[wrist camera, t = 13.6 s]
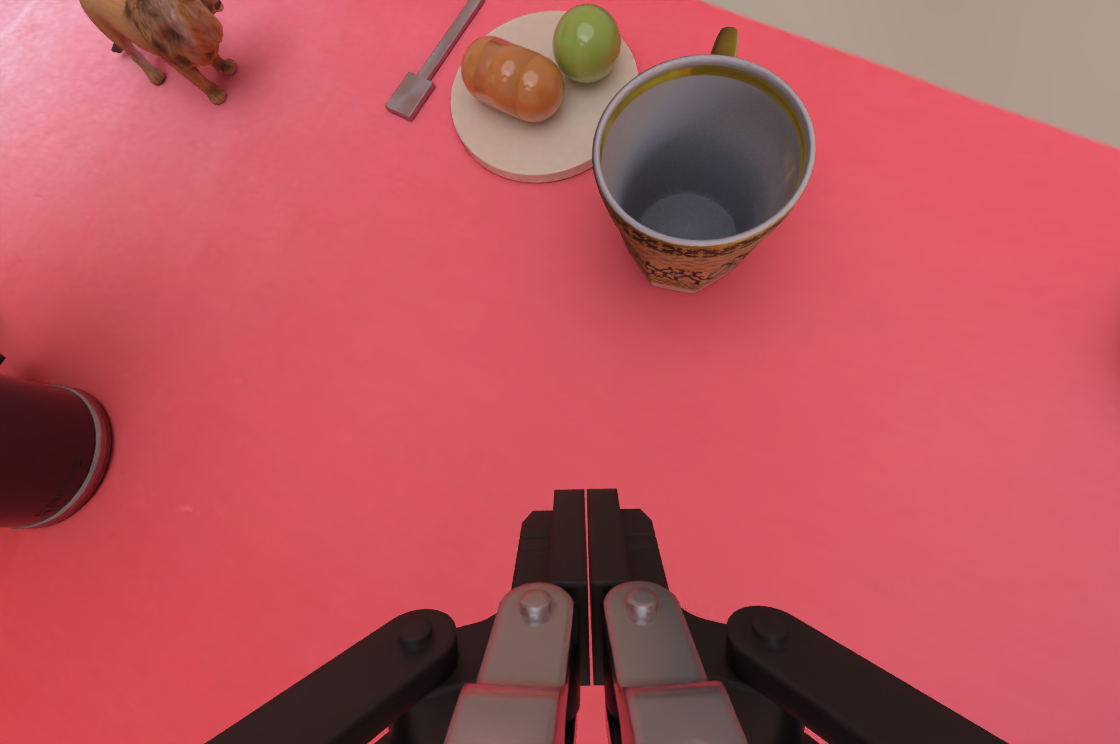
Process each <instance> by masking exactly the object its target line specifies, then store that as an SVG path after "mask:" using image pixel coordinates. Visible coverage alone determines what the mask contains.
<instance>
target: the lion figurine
mask: <svg viewBox="0 0 1120 744" xmlns="http://www.w3.org/2000/svg"><path fill="white" fill-rule="evenodd" d="M79 1H80V4H81V6H82V8H83V10H84V11H85V13H86V14H87V16H88V17H89V18H90V19H91V21H92V22H93V23H94V24H95V25H96V26H97V27H98V28H99V29H100V31H101V32H103V33H104V34H105V35H106V36H107V37H108V38H109V39H110V40H112V41H113V42H114V44H113V47H112V49H111V50H112V51H113V52H117V53H121V52H122V51H123V50H124V51H125V52H126V53H128V54H129V55H130V56H131V58H132V59H133V60H134V61H135V62H136V63H137V64H138V65H139V66H140V67H141V68H142V69H143V71H144V72H145V73H146V75H147V76H148V78H149V80H150V81H151V82H152V83H153V84H155V85H158V84H160V83H161V82H162V80H163V79H164V74H163V73H162V72H161V71H160V70H158V69H157V68H155V67H154V66H153V65H151V64H150V63H149V62H148V61H147V60H146V59H145V57H144V56H143V55H142V54H141V53H140V52H139V51H137V50H136V49H135V47H134V46H133V44H132V43H134V44H135V45H137V46H138V47H140V48H142V49H144V50H146V51H148V52H150V53H152V54H154V55H157V56H160V57H161V58H162V59H164V60H165V61H166V62H168V63H169V64H170V65H172V66H173V67H174V68H175V69H176V70H177V71H178V72H179V73H180V74H181V75H183V76H184V77H186V78H187V79H188V80H190V81H191V82H192V83H193V84H194V85H196V86H197V87H199V88H200V89H201V90H202V91H203V92H204V93H205V94H206V95H207V96H208V97H209V99H210V100H211V102H212V103H214V104H221V103H222V102H224V100H225V98H226V93H225V92H224V91H222V90H221V89H220V88H219V86H217V85H216V84H214V83H213V82H210V81H209V80H207V79H206V78H205V77H204V76H203V75H202V74H201V73H200V71H199V70H198V69H197V67H198V66H200V65H202V66H206V65H211V64H212V66H213V67H214V68H215V69H216V70H217V71H218V72H220V73H223V74H227V75H229V74H233V73H234V72H235V71H236V63H235V62H234V60H232V59H227V60H223V59H221V57H220V56H219V55H218V51H219V43H220V42H222V37H223V27H222V24H221V23H220V22H219V20H218V19H217V18H216V17H215V16H214V14H215V13H216V12H220V11H222V10H223V9H224V7H223V4H222V3H221V1H220V0H79Z"/></svg>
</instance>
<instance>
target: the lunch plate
mask: <svg viewBox="0 0 1120 744" xmlns="http://www.w3.org/2000/svg"><path fill="white" fill-rule="evenodd" d="M636 76H638V70H637V66H636V62H635V59H634V57H633V55H632V53H631V51H630V49H629V48H628V46H627V44H626V43H625V41H624V40H623V39H622V38H621V35H620V31H619V27H618V25H617V23H616V21H615V19H614V18H613V17H612V15H611V14H610V13H609V12H608V11H606V10H605V9H604V8H602V7H600V6H597V5H594V4H581V5H577V6H575V7H573V8H571V9H570V10H568V11H542V12H536V13H531V14H527V15H524V16H520V17H518V18H515V19H512V20H510V21H508V22H506V23H504V24H502V25H500V26H498V27H497V28H495V29H494V30H492V31H491V32H489V33H488V34H487V35H486V36H484V37H481V38H478V39H476V40H475V41H473V42H472V43H471V44H470V45H469V46H468V48H467V49H466V51H465V52H464V55H463V58H462V62H461V65H460V67H459V69H458V71H457V74H456V76H455V79H454V82H453V86H452V92H451V114H452V120H453V123H454V126H455V129H456V131H457V133H458V135H459V137H460V139H461V141H462V143H463V145H464V147H465V148H466V150H467V151H468V152H469V154H470V155H471V156H472V157H473V158H474V159H475V160H476V161H477V162H478V163H479V164H481V165H482V166H483V167H485V168H486V169H488V170H490V171H491V172H493V173H495V174H497V175H500V176H502V177H505V178H507V179H511V180H515V181H521V182H529V183H544V182H552V181H558V180H562V179H566V178H569V177H572V176H575V175H577V174H580V173H582V172H584V171H586V170H588V169H590V168H592V167H593V164H592V147H593V139H594V135H595V131H596V128H597V125H598V122H599V120H600V118H601V116H602V114H603V112H604V110H605V108H606V107H607V105H608V104H609V102H610V101H611V100H612V99H613V97H614V96H615V95H616V94H617V92H618V91H619V90H620V89H621V88H622V87H623V86H624V85H626V84H627V83H628V82H629V81H631V80H632V79H633V78H634V77H636Z"/></svg>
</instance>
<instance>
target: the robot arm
mask: <svg viewBox="0 0 1120 744" xmlns="http://www.w3.org/2000/svg"><path fill="white" fill-rule="evenodd" d="M5 358H6V357H5V356H3V355H2V354H1V353H0V365H1V364H2V362H3V361H4V360H5ZM110 448H111V433H110V426H109V422H108V419H107V416H106V414H105V412H104V410H103V408H102V407H101V405H100V404H99V403H98V402H97V401H96V400H95V399H94V398H93V397H92V396H91V395H89V394H88V393H86V392H84V391H82V390H79V389H76V388H71V387H66V386H62V385H57V384H45V383H40V382H35V381H30V380H25V379H20V378H16V377H12V376H7V375H2V374H0V528H12V529H27V528H41V527H46V526H50V525H53V524H55V523H58V522H60V521H62V520H64V519H65V518H67V517H69V516H70V515H72V514H73V513H74V512H75V511H77V510H78V509H79V508H80V507H81V506H82V505H83V504H84V503H85V502H86V501H87V500H88V499H89V498H90V496H91V495H92V494H93V492H94V491H95V489H96V488H97V486H98V484H99V483H100V481H101V479H102V477H103V474H104V472H105V469H106V467H107V463H108V460H109V455H110ZM587 517H588V557H589V584H590V608H591V633H592V657H593V681H594V685H604V688H605V710H606V730H607V737H608V743H609V744H819V743H818V742H817V741H815V740H814V739H813V738H811V737H810V736H809V735H807V734H806V733H805V732H804V729H805V726H806V727H807V728H809V729H810V730H811V731H813V732H814V733H815V734H817V735H818V736H819V737H821V738H822V739H823V740H825V741H826V742H827V743H829V744H1008V743H1007V742H1005V741H1003V740H1002V739H1000V738H998V737H996V736H995V735H993V734H991V733H990V732H988V731H986V730H985V729H983V728H981V727H980V726H978V725H976V724H975V723H973V722H971V721H969V720H968V719H966V718H964V717H963V716H961V715H959V714H958V713H956V712H954V711H953V710H951V709H949V708H947V707H946V706H944V705H942V704H941V703H939V702H937V701H936V700H934V699H932V698H931V697H929V696H927V695H926V694H924V693H922V692H920V691H919V690H917V689H915V688H914V687H912V686H910V685H909V684H907V683H905V682H904V681H902V680H900V679H899V678H897V677H895V676H893V675H892V674H890V673H888V672H887V671H885V670H883V669H882V668H880V667H878V666H877V665H875V664H873V663H871V662H870V661H868V660H866V659H865V658H863V657H861V656H860V655H858V654H856V653H855V652H853V651H851V650H850V649H848V648H846V647H844V646H843V645H841V644H839V643H838V642H836V641H834V640H833V639H831V638H829V637H828V636H826V635H824V634H823V633H821V632H819V631H817V630H816V629H814V628H812V627H811V626H809V625H807V624H806V623H804V622H802V621H801V620H799V619H797V618H795V617H794V616H792V615H790V614H788V613H786V612H784V611H781V610H779V609H775V608H772V607H766V606H749V607H744V608H742V609H739V610H737V611H735V612H734V613H733V614H732V615H731V616H730V618H729V619H728V622H727V624H723V623H719V622H714V621H710V620H706V619H702V618H699V617H697V616H694V615H692V614H690V613H688V612H687V611H685V610H684V609H682V608H681V607H680V604H679V602H678V600H677V598H676V597H675V595H674V594H673V593H672V592H670V591H669V589H668V585H667V581H666V577H665V573H664V569H663V565H662V560H661V556H660V552H659V548H658V544H657V540H656V537H655V532H654V528H653V524H652V520H651V519H650V518H649V517H648V516H647V515H646V514H645V513H644V512H643V511H642V510H641V509H620V506H619V500H618V493H617V489H587ZM580 686H590V658H589V618H588V580H587V552H586V525H585V497H584V489H572V490H555V491H554V505H553V511H532V513H531V514H530V515H529V516H528V517H527V518H526V519H525V520H524V522H523V523H522V527H521V533H520V539H519V546H518V552H517V558H516V564H515V570H514V576H513V582H512V588H511V591H510V592H508V593H507V594H506V595H505V596H504V597H503V598H502V600H501V602H500V604H499V607H498V610H497V613H496V614H495V615H493V616H491V617H490V618H488V619H485V620H483V621H481V622H477V623H474V624H470V625H466V626H462V627H459V628H456V625H455V623H454V621H453V620H452V618H451V617H450V616H448V615H447V614H445V613H443V612H441V611H438V610H432V609H421V610H415V611H410V612H407V613H404V614H402V615H400V616H398V617H396V618H394V619H393V620H391V621H389V622H388V623H386V624H385V625H383V626H382V627H380V628H379V629H377V630H376V631H374V632H373V633H371V634H370V635H368V636H367V637H365V638H364V639H362V640H361V641H359V642H358V643H356V644H355V645H353V646H352V647H350V648H349V649H347V650H346V651H344V652H343V653H341V654H340V655H338V656H337V657H335V658H334V659H332V660H330V661H329V662H327V663H326V664H324V665H323V666H321V667H320V668H318V669H317V670H315V671H314V672H312V673H311V674H309V675H308V676H306V677H305V678H303V679H302V680H300V681H299V682H297V683H296V684H294V685H293V686H291V687H290V688H288V689H287V690H285V691H284V692H282V693H281V694H279V695H278V696H276V697H275V698H273V699H272V700H270V701H268V702H267V703H265V704H264V705H262V706H261V707H259V708H258V709H256V710H255V711H253V712H252V713H250V714H249V715H247V716H246V717H244V718H243V719H241V720H240V721H238V722H237V723H235V724H234V725H232V726H231V727H229V728H228V729H226V730H225V731H223V732H222V733H220V734H219V735H217V736H216V737H214V738H213V739H211V740H210V741H208V742H206V743H205V744H367V743H369V742H370V741H371V740H372V739H373V738H375V737H376V736H377V735H378V734H380V733H381V732H382V731H383V730H384V729H386V728H387V727H388V729H389V732H388V733H387V734H385V735H384V736H383V737H382V738H381V739H379V740H378V741H377V742H376V743H375V744H576V737H577V712H578V710H579V707H580Z"/></svg>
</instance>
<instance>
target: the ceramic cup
mask: <svg viewBox="0 0 1120 744" xmlns="http://www.w3.org/2000/svg"><path fill="white" fill-rule="evenodd" d="M737 49H738V31H737V29H735V28H733V27H725V28H722V29H721V31H720V33H719V34H718V36H717V38H716V41H715V43H714V46H713V48H712V51H711V54H710V55H692V56H685V57H680V58H676V59H672V60H669V61H666V62H663V63H661V64H658V65H656V66H654V67H651V68H649V69H648V70H646V71H644V72H642V73H641V74H639V75H638V76H636V77H634V78H633V79H632V80H631V81H629V82H628V83H627V84H626V85H624V86H623V87H622V88H621V89H620V90H619V91H618V92H617V94H616V95H615V96H614V97H613V99H612V100H611V101H610V102H609V104H608V105H607V107H606V108H605V110H604V112H603V114H602V116H601V118H600V120H599V122H598V125H597V128H596V131H595V135H594V139H593V147H592V164H593V171H594V175H595V179H596V182H597V186H598V189H599V192H600V195H601V197H602V199H603V202H604V204H605V206H606V208H607V210H608V212H609V214H610V216H611V218H612V219H613V221H614V223H615V224H616V226H617V227H618V229H619V231H620V233H621V235H622V237H623V239H624V242H625V245H626V247H627V249H628V251H629V253H630V254H631V256H632V257H633V259H634V260H635V262H636V263H637V265H638V266H639V268H640V269H641V271H642V272H643V273H644V275H645V276H646V278H647V279H648V281H649V282H650V284H651V285H653V286H655V287H659V288H664V289H669V290H674V291H679V292H684V293H690V294H692V293H696V292H698V291H700V290H701V289H703V288H705V287H706V286H708V285H710V284H711V283H713V282H715V281H716V280H718V279H720V278H721V277H723V276H725V275H726V274H728V273H730V272H731V271H732V270H733V269H734V268H735V267H736V266H737V265H738V264H739V263H740V262H741V261H742V260H743V259H744V258H745V257H746V256H747V255H748V254H749V253H750V252H751V251H752V250H753V249H754V248H755V247H756V245H757V244H758V243H760V242H761V241H762V240H763V239H765V238H766V237H767V236H768V235H769V234H770V233H771V232H772V231H773V230H774V229H775V228H776V227H777V226H778V225H779V224H780V223H781V222H782V221H783V219H784V218H785V217H786V216H787V215H788V214H789V212H790V211H791V210H792V208H793V207H794V205H795V204H796V203H797V201H798V200H799V198H800V197H801V195H802V194H803V192H804V190H805V188H806V186H807V184H808V182H809V179H810V177H811V174H812V171H813V166H814V161H815V134H814V129H813V125H812V122H811V119H810V116H809V114H808V112H807V109H806V108H805V106H804V104H803V103H802V101H801V99H800V98H799V97H798V95H797V94H796V93H795V92H794V90H793V89H792V88H791V87H790V86H789V85H788V84H787V83H785V82H784V81H783V80H782V79H781V78H779V77H778V76H777V75H775V74H774V73H772V72H771V71H769V70H767V69H765V68H763V67H761V66H760V65H757V64H755V63H752V62H750V61H747V60H744V59H740V58H736V56H737Z"/></svg>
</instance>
